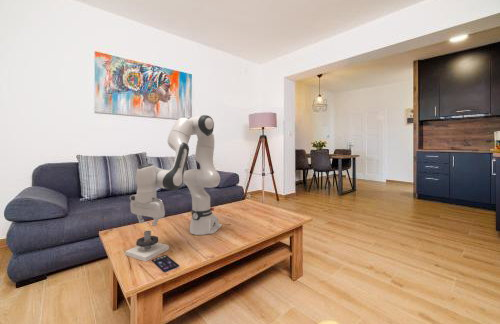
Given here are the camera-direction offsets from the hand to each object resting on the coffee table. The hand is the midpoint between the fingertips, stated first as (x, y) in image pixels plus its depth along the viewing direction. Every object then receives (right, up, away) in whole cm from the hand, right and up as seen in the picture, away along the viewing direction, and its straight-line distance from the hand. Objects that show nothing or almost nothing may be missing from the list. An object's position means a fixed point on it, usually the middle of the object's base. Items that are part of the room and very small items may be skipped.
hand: (148, 224), depth 110 cm
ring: (0, -8, 0) cm, 8 cm away
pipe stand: (0, -14, +1) cm, 14 cm away
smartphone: (+12, -16, -10) cm, 22 cm away
